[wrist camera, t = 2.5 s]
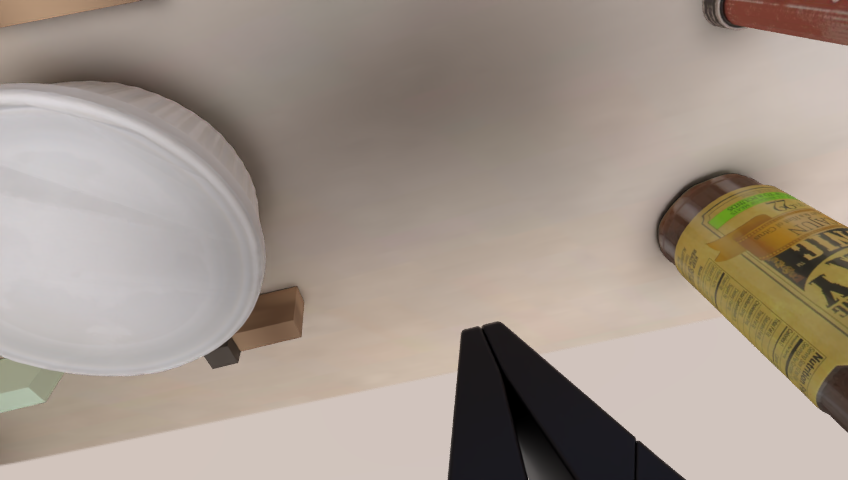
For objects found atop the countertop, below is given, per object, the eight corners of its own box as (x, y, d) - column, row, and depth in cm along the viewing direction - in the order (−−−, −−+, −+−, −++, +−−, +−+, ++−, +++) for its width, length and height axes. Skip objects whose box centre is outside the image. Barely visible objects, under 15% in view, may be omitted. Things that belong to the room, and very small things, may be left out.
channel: (78, 355, 22) (44, 409, 20) (-242, 24, 13) (-385, 42, 11) (304, 302, 23) (300, 347, 20) (149, -49, 14) (106, -48, 11)
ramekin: (217, 25, 15) (172, 53, 11) (310, 263, 22) (305, 340, 18) (-107, 86, 15) (-288, 142, 10) (88, 313, 21) (25, 405, 17)
